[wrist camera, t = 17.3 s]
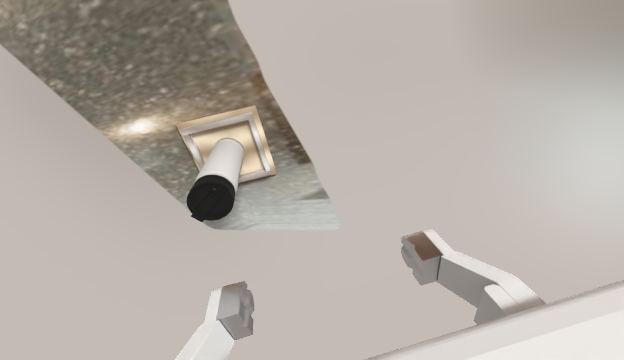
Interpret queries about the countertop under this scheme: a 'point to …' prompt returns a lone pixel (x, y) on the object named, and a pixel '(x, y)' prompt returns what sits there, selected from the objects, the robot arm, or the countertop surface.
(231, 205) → the travel mug
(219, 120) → the square metal tray
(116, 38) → the countertop surface
